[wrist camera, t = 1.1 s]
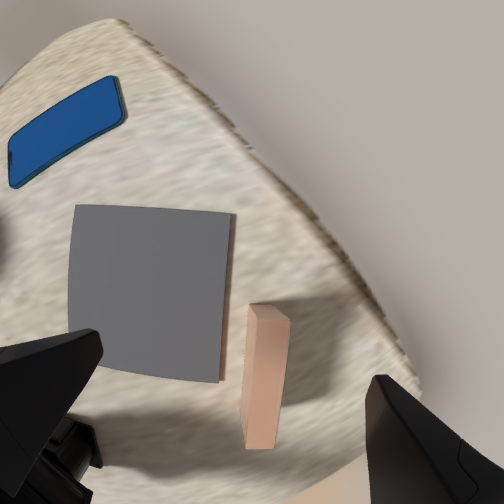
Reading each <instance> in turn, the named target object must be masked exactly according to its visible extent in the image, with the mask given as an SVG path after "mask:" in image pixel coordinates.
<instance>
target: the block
mask: <svg viewBox="0 0 504 504" xmlns="http://www.w3.org/2000/svg"><path fill="white" fill-rule="evenodd" d="M290 322H291V320H290V319H289V318H288V317H287V316H285V315H284V314H283V313H282V312H281V311H279V310H278V309H277V308H276V307H275V306H273V305H260V304H249V305H248V317H247V330H246V343H245V355H244V368H243V380H242V393H241V406H240V414H241V421H242V428H243V435H244V441H245V448H246V449H274V443H275V441H276V434H277V428H278V422H279V415H280V408H281V401H282V394H283V387H284V379H285V372H286V364H287V355H288V347H289V338H290V328H291V326H290Z"/></svg>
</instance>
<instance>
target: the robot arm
mask: <svg viewBox="0 0 504 504" xmlns="http://www.w3.org/2000/svg"><path fill="white" fill-rule="evenodd" d="M103 354H104V349H103V345H102V342H101V338H100V334H99V332H98V331H97V330H94V329H91V328H86V329H82V330H78V331H74V332H69V333H65V334H61V335H56V336H52V337H48V338H43V339H39V340H34V341H29V342H25V343H20V344H15V345H10V346H8V347H7V346H5V347H0V504H90V503H91V499H92V495H93V491H91V490H90V489H87V488H86V487H85V486H84V485H82V484H81V483H80V480H81V478H82V477H83V475H84V473H85V472H86V470H87V468H88V467H89V465H90V466H93V467H96V468H99V469H101V468H102V467H103V464H102V460H101V457H100V453H99V450H98V446H97V442H96V438H95V434H94V430H93V428H92V427H91V426H89V425H86V424H83V423H80V422H77V421H74V420H71V419H68V418H65V417H64V416H65V415H66V413H67V412H68V410H69V409H70V407H71V406H72V404H73V403H74V402H75V400H76V399H77V397H78V396H79V394H80V393H81V392H82V390H83V389H84V387H85V386H86V384H87V382H88V381H89V379H90V377H91V375H92V374H93V372H94V370H95V369H96V367H97V365H98V363H99V362H100V360H101V358H102V357H103ZM365 414H366V451H367V460H368V470H369V482H370V496H371V504H504V469H503V468H501V467H499V466H498V465H496V464H495V463H493V462H492V461H490V460H489V459H488V458H486V457H485V456H483V455H482V454H481V453H479V452H478V451H477V450H476V449H474V448H473V447H472V446H471V445H469V444H468V443H467V442H466V441H464V440H463V439H461V438H460V436H459V435H457V434H456V433H455V432H454V431H453V430H451V429H450V428H449V427H448V426H447V425H446V424H444V423H443V422H442V421H441V420H440V419H439V418H438V417H436V416H435V415H434V414H432V412H430V411H429V410H428V409H427V408H426V407H425V406H423V405H422V404H421V403H420V402H419V401H418V400H417V399H415V398H414V397H413V396H412V395H411V394H410V393H408V392H407V391H406V390H405V389H404V388H403V387H401V386H400V385H399V384H398V383H397V382H396V381H394V380H393V379H392V378H391V377H390V376H388V375H375V376H374V377H373V378H372V381H371V384H370V386H369V389H368V392H367V394H366V398H365ZM88 429H89V430H90V431H89V430H88Z"/></svg>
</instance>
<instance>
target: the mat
mask: <svg viewBox="0 0 504 504" xmlns="http://www.w3.org/2000/svg"><path fill="white" fill-rule="evenodd" d="M230 218H231V214H228V213H216V212H204V211H191V210H177V209H161V208H145V207H125V206H102V205H75V211H74V218H73V225H72V234H71V243H70V255H69V271H68V328H69V332H74V331H78V330H82V329H86V328H91V329H94V330H97V331H98V332H99V334H100V338H101V342H102V345H103V349H104V354H103V357H102V358H101V360H100V362H99V363H98V366H102V367H107V368H111V369H116V370H121V371H126V372H131V373H137V374H143V375H149V376H155V377H162V378H169V379H177V380H186V381H195V382H207V383H219V371H220V353H221V336H222V320H223V305H224V291H225V278H226V265H227V253H228V241H229V229H230Z"/></svg>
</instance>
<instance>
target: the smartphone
mask: <svg viewBox="0 0 504 504" xmlns="http://www.w3.org/2000/svg"><path fill="white" fill-rule="evenodd" d="M124 117H125V114H124V110H123V106H122V102H121V98H120V94H119V89H118V85H117V81H116V78H115V77H114V76H112V75H110V76H106V77H104V78H102V79H100V80H98V81H96V82H94V83H92V84H90V85H88V86H86V87H84V88H82V89H81V90H79V91H77V92H75V93H73V94H72V95H70V96H68V97H67V98H65V99H63V100H62V101H60V102H58V103H57V104H55V105H54V106H52V107H50V108H49V109H47V110H46V111H44V112H43V113H41V114H40V115H39V116H37V117H36V118H34V119H33V120H31V121H30V122H29V123H27V124H26V125H25V126H23V127H22V128H21V129H19V130H18V131H17V132H16V133H14V134H13V135H12V136H11V138H10V139H9V141H8V180H9V186H10V187H11V188H13V189H18V188H19V187H21V186H22V185H23V184H25V183H26V182H27V181H29V180H30V179H32V178H33V177H34V176H36V175H37V174H38V173H40V172H41V171H43V170H44V169H46V168H47V167H48V166H50V165H51V164H53V163H54V162H56V161H57V160H59V159H61V158H62V157H64V156H65V155H67V154H68V153H70V152H72V151H73V150H75V149H77V148H78V147H80V146H82V145H83V144H85V143H87V142H89V141H91V140H92V139H94V138H96V137H98V136H100V135H102V134H103V133H105V132H107V131H109V130H111V129H113V128H115V127H117V126H119V125H120V124H121V123H122V122H123V120H124Z"/></svg>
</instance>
